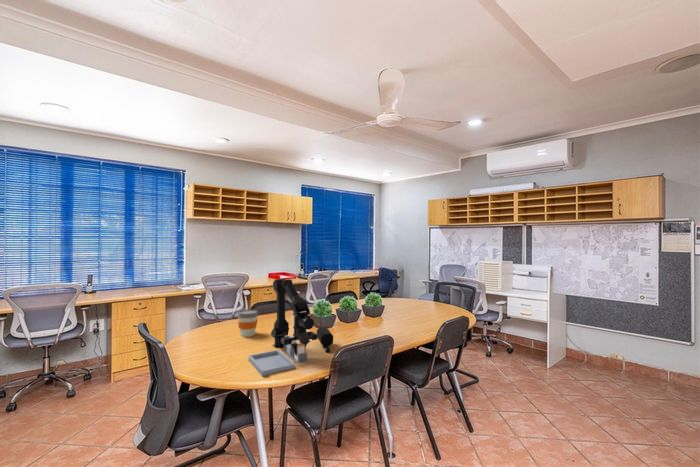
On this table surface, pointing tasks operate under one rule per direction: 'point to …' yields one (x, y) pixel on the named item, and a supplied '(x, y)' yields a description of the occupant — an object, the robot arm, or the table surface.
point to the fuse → (288, 346)
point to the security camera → (325, 337)
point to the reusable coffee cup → (247, 322)
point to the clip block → (291, 355)
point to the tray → (270, 362)
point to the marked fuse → (299, 349)
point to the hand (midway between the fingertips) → (299, 354)
